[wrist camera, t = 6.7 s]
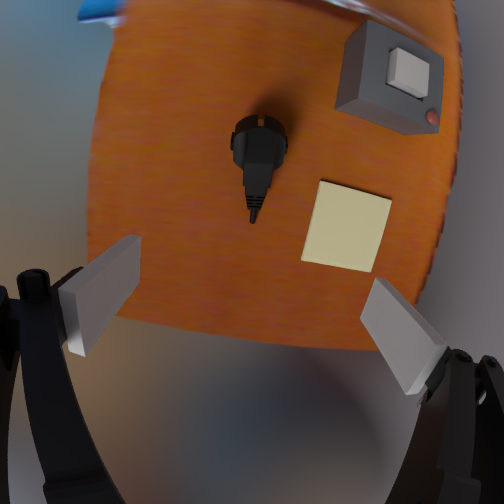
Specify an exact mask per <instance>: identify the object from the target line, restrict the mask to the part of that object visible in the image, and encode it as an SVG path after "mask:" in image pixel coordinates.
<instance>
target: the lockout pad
mask: <svg viewBox="0 0 504 504" xmlns="http://www.w3.org/2000/svg"><path fill="white" fill-rule="evenodd" d="M391 202H392V201H391V200H388V199H385V198H382V197H378V196H375V195H372V194H368V193H365V192H361V191H358V190H354V189H351V188H347V187H343V186H339V185H336V184H332V183H328V182H324V181H320V183H319V187H318V191H317V196H316V200H315V204H314V208H313V213H312V217H311V221H310V225H309V229H308V233H307V237H306V241H305V245H304V248H303V252H302V256H301V260H304V261H309V262H315V263H320V264H326V265H332V266H337V267H343V268H348V269H354V270H360V271H365V272H371V269H372V266H373V263H374V260H375V257H376V254H377V251H378V248H379V245H380V242H381V238H382V235H383V232H384V228H385V225H386V221H387V218H388V214H389V210H390V206H391Z"/></svg>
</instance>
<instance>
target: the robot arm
mask: <svg viewBox="0 0 504 504" xmlns="http://www.w3.org/2000/svg"><path fill="white" fill-rule="evenodd" d="M140 252H141V236H136V235H130V234H128V235H127V236H125V237H124V238H123V239H121V240H120V241H118V242H117V243H116V244H114V245H113V246H112V247H110V248H109V249H108V250H106V251H105V252H104V253H102V254H101V255H100V256H98V257H97V258H96V259H94V260H93V261H92V262H90V263H89V264H88V265H87V266H85V267H79V268H76V269H73V270H71V271H70V272H69V273H68V274H66V276H64V277H62V278H61V280H59V281H57V282H56V283H55V284H53V285H52V286H50V278H49V274H48V272H47V271H45V270H42V269H30V270H26V271H24V272H21V273H20V274H19V275H18V276H17V285H18V290H19V295H20V299H11V298H9V297H8V293H7V289H6V288H5V287H4V286H1V285H0V504H10V498H9V486H8V463H7V461H8V459H7V458H8V456H7V455H8V431H9V419H10V410H11V402H12V395H13V388H14V383H15V377H16V372H17V367H18V363H19V358H20V354H21V366H22V376H23V385H24V393H25V400H26V406H27V411H28V416H29V422H30V426H31V430H32V435H33V439H34V443H35V447H36V450H37V454H38V457H39V461H40V464H41V467H42V470H43V473H44V476H45V481H46V482H45V483H44V485H43V492H44V495H45V498H46V501H47V503H48V504H126V503H125V501H124V499H123V497H122V496H121V494H120V493H119V491H118V489H117V488H116V486H115V484H114V482H113V480H112V478H111V476H110V475H109V473H108V471H107V469H106V467H105V465H104V463H103V461H102V459H101V457H100V455H99V453H98V451H97V448H96V446H95V444H94V442H93V439H92V437H91V435H90V432H89V430H88V428H87V425H86V423H85V420H84V417H83V415H82V412H81V409H80V406H79V404H78V401H77V398H76V395H75V392H74V389H73V385H72V382H71V379H70V375H69V372H68V368H67V364H66V361H65V356H64V353H63V348H62V345H63V343H64V342H65V341H66V340H67V343H68V347H69V351H71V352H73V353H76V354H79V355H82V356H84V357H86V355H87V354H88V352H89V351H90V349H91V348H92V347H93V345H94V344H95V342H96V341H97V339H98V338H99V337H100V335H101V334H102V332H103V331H104V330H105V328H106V327H107V325H108V324H109V322H110V321H111V320H112V319H113V317H114V316H115V314H116V313H117V312H118V310H119V309H120V308H121V306H122V305H123V304H124V302H125V301H126V300H127V298H128V297H129V296H130V295H131V293H132V292H133V291H134V289H135V288H136V287H137V285H138V284H139V277H140ZM360 319H361V321H362V322H363V324H364V326H365V327H366V329H367V330H368V332H369V334H370V335H371V337H372V338H373V340H374V342H375V343H376V345H377V347H378V348H379V350H380V352H381V353H382V355H383V357H384V358H385V360H386V362H387V363H388V365H389V367H390V368H391V370H392V372H393V373H394V375H395V377H396V379H397V380H398V382H399V384H400V386H401V387H402V389H403V391H404V393H405V394H406V395H409V394H417V393H419V391H420V390H421V388H422V387H423V385H424V384H426V386H427V387H428V389H427V391H426V392H425V393H424V395H423V396H422V398H421V399H420V400H419V402H418V403H417V405H416V407H418V406H419V405H420V404H421V408H420V412H419V415H418V419H417V422H416V426H415V429H414V432H413V436H412V439H411V442H410V444H409V447H408V450H407V453H406V456H405V458H404V461H403V463H402V466H401V469H400V471H399V473H398V476H397V478H396V481H395V483H394V485H393V487H392V490H391V492H390V494H389V496H388V498H387V500H386V503H385V504H504V372H503V369H502V367H501V365H500V364H499V362H498V361H497V360H496V359H495V358H494V357H492V356H488V355H484V356H483V357H482V359H481V361H480V362H479V364H478V363H473V360H472V357H471V356H469V354H467V353H466V352H465V351H463V350H460V349H453V350H451V349H450V347H449V346H448V345H447V343H446V342H445V341H444V340H443V339H442V338H441V336H440V335H439V334H438V333H437V332H436V331H435V330H434V329H433V328H432V326H431V325H430V324H429V323H428V322H427V321H426V320H425V319H424V318H423V317H422V316H421V315H420V314H419V313H418V312H417V311H416V309H415V308H414V307H413V306H412V305H411V304H410V303H409V302H408V301H407V300H406V299H405V298H404V297H403V296H402V295H401V294H400V293H399V292H398V291H397V290H396V289H395V288H394V287H393V286H392V285H391V284H390V283H389V282H388V281H387V280H386V279H381V278H375V280H374V283H373V286H372V289H371V291H370V294H369V297H368V299H367V302H366V304H365V307H364V309H363V312H362V314H361V317H360ZM485 392H486V397H485V399H484V401H483V402H482V404H480V405H479V400H480V399H481V397H482V396H483V395H484V393H485Z"/></svg>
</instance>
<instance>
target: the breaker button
mask: <svg viewBox="0 0 504 504" xmlns="http://www.w3.org/2000/svg"><path fill="white" fill-rule="evenodd" d="M428 81H429V64H428V63H427V62H425V61H423V60H421V59H419V58H417V57H416V56H414V55H412V54H410V53H408V52H406V51H404V50H402V49H400V48H396V49H394V50H393V51H391V52H390V53H388V63H387V72H386V80H385V85H388V86H390V87H392V88H395V89H397V90H399V91H401V92H403V93H405V94H408V95H410V96H412V97H414V98H416V99H417V98H421V97H425V96H427V93H428Z"/></svg>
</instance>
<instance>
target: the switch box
mask: <svg viewBox="0 0 504 504" xmlns="http://www.w3.org/2000/svg"><path fill="white" fill-rule="evenodd" d="M396 48H400V49H402V50H404V51H406V52H408V53H410V54H412V55H414V56H416V57H417V58H419V59H421V60H423V61H425V62H427V63H428V64H429V81H428V93H427V96H425V97H421V98H417V99H416V98H414V97H412V96H410V95H408V94H405V93H403V92H401V91H399V90H397V89H395V88H392V87H390V86H388V85H385V80H386V72H387V63H388V53H390V52H391V51H393V50H394V49H396ZM443 76H444V58H443V57H442V56H440V55H438V54H437V53H435V52H434V51H432V50H430V49H428V48H427V47H425V46H423V45H421V44H420V43H418V42H416V41H414V40H412V39H410V38H408V37H407V36H405V35H403V34H401V33H399V32H396V31H394V30H392V29H390V28H388V27H386V26H384V25H381V24H379V23H377V22H374V21H372V20H369V19H367V20H366V21H365V22H364V23H363V24H362V25H361V26H360V27H359V29H358V30H357V31H356V32H355V33H354V34H353V35H352V36H351V37H350V38H349V39H348V40H347V41H346V43H345V50H344V57H343V63H342V70H341V76H340V82H339V88H338V93H337V99H336V105H335V110H338V111H341V112H345V113H348V114H351V115H354V116H357V117H360V118H362V119H365V120H368V121H371V122H373V123H376V124H379V125H381V126H384V127H386V128H389V129H391V130H394V131H396V132H399V133H401V134H403V135H411V134H434V133H438V131H439V124H440V115H441V106H442V94H443Z"/></svg>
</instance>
